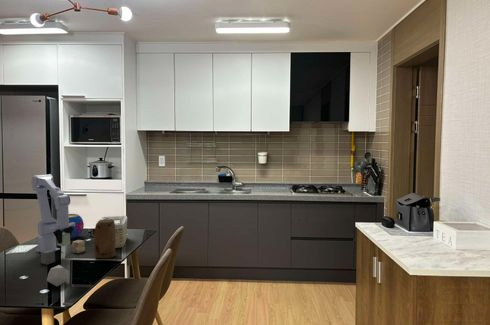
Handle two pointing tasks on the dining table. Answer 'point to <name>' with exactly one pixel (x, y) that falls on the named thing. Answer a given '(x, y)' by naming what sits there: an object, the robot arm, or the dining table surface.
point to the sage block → (65, 239)
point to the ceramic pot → (78, 225)
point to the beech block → (78, 246)
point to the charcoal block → (48, 256)
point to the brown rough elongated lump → (104, 239)
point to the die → (57, 275)
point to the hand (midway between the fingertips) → (63, 241)
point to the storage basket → (119, 229)
